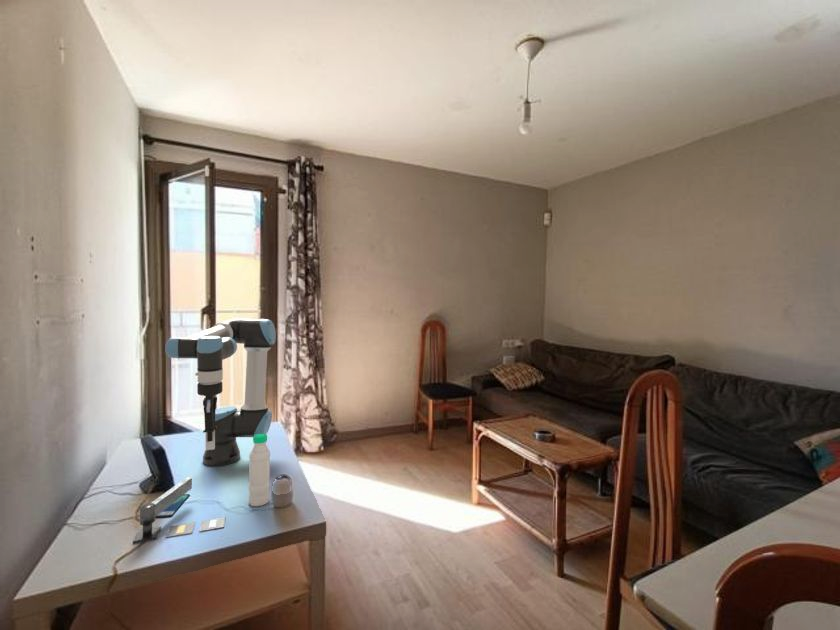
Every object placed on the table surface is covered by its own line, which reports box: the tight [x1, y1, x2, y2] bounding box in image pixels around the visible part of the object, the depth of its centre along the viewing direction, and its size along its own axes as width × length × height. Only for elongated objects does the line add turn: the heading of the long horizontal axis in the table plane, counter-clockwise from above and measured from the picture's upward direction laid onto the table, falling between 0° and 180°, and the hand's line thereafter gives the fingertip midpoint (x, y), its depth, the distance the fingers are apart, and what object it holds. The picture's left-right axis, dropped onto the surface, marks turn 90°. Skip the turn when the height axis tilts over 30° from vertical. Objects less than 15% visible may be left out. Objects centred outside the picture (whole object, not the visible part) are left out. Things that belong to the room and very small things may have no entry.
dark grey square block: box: [132, 523, 162, 545], centre depth 119 cm, size 6×6×4 cm
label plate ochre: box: [165, 521, 196, 539], centre depth 123 cm, size 6×7×1 cm
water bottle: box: [248, 434, 271, 507], centre depth 140 cm, size 7×7×25 cm
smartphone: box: [155, 493, 191, 519], centre depth 136 cm, size 7×1×15 cm
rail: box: [139, 476, 193, 526], centre depth 128 cm, size 4×22×5 cm, turn 178°
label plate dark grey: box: [198, 516, 226, 533], centre depth 126 cm, size 6×7×1 cm
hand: (210, 448), depth 132 cm, fingers closed
